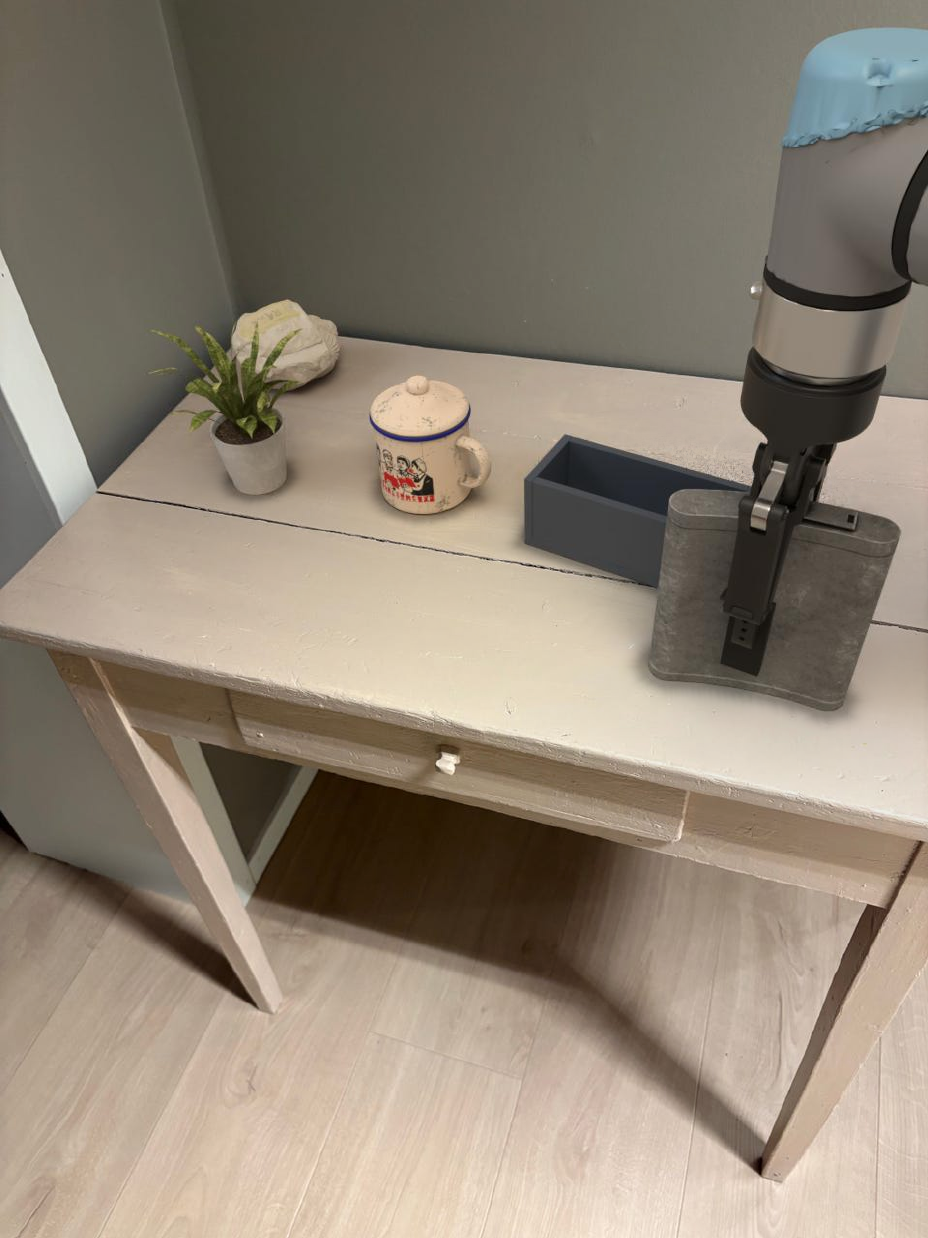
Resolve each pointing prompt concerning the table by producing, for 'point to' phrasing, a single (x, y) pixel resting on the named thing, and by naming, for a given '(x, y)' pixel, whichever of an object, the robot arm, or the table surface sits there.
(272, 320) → the fossil replica
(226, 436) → the house plant
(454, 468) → the teacup with lid
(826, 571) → the flask
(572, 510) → the holder
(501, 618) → the table surface
